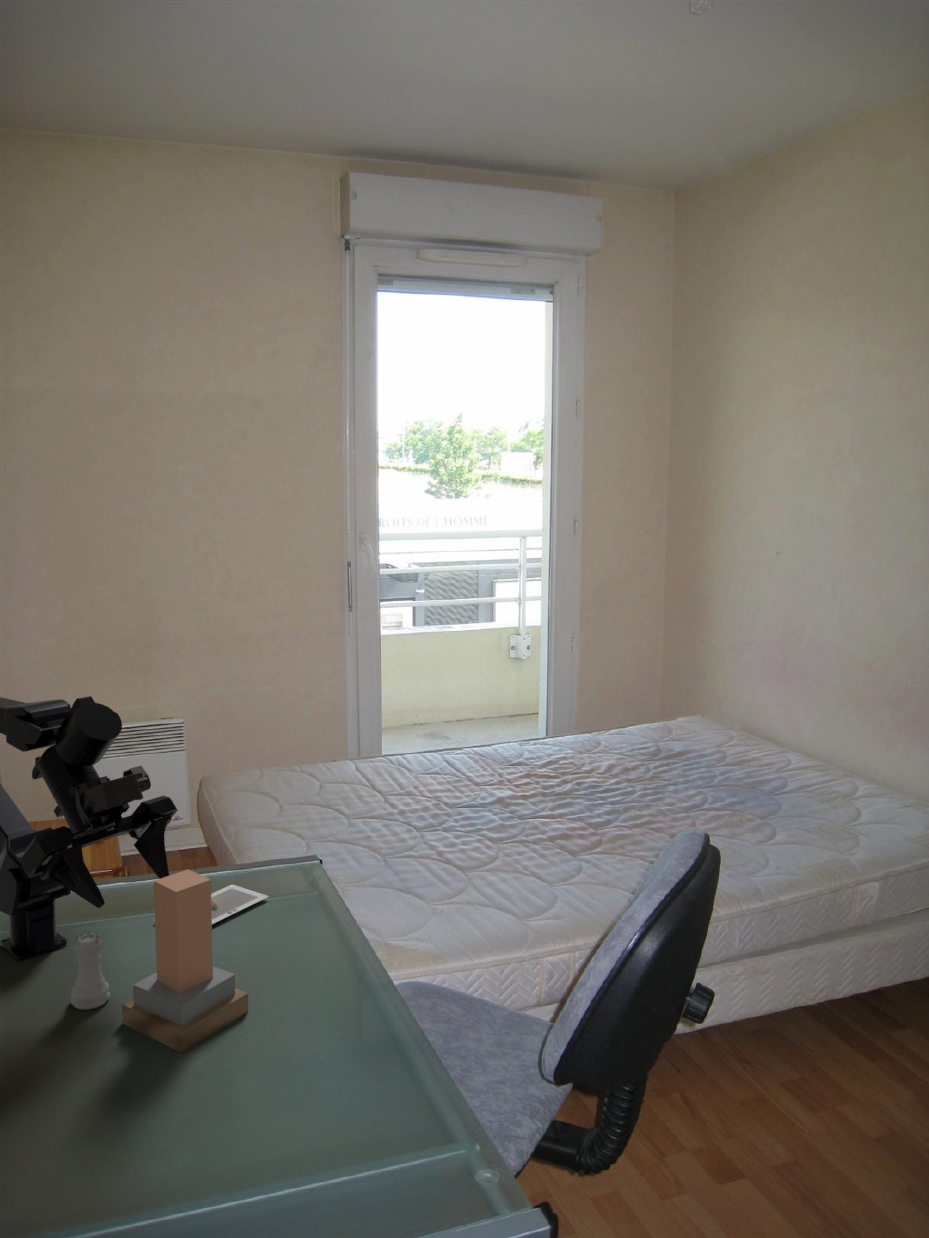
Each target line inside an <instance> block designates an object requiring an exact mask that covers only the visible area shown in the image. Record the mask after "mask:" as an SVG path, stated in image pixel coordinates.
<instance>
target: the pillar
mask: <svg viewBox="0 0 929 1238" xmlns="http://www.w3.org/2000/svg"><path fill="white" fill-rule="evenodd" d="M153 891H154V892H153V894H154V895H153V896H154V897H153V899H154V919H155V920H154V924H155V925H154V926H155V928H154V929H155V932H154V933H155V957H156V958H155V959H156V961H155V963H156V964H155V966H156V972H157V980H158V981H160V982H161V983H163V984H165V985H166V986H168V987H169V988H171V989H173V990H174V991H176V992H178V993H181V992H183V991H186V990H188V989H190V988H192V987H195V986H197V985H199V984H201V983H203V982H206V981H208V980H210V979H212V978H213V966H214V963H213V960H214V959H213V924H212V913H211V894H212V880H211V878H209V877H205V876H204V875H202V874H200V873H198V872H195V871H193V870H191V869H184V870H181V871H179V872H176V873H174V874H173V873H172V874H169V876H167V877H164V878H161V879H160V878H158V879H155V880H153Z"/></svg>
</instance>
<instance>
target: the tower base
mask: <svg viewBox="0 0 929 1238" xmlns="http://www.w3.org/2000/svg"><path fill="white" fill-rule="evenodd" d="M248 1012H249V993H248V992H246V991H243V990H241V989H239V988H237V987H235V995H233V996H232V997H230V998H228V999H227V1000H225V1001H223V1002H222V1003H220V1004H218V1005H217V1006H215V1007H214V1008H212V1009H210V1010H209V1011H207V1012H205V1013H204V1014H202V1015H200V1016H199V1017H197V1018H195V1019H194V1020H192V1021H190V1022H189V1023H187V1024H186V1025H184V1026H181V1025H179V1024H176V1023H174V1022H172V1021H169V1020H167V1019H165V1018H162V1017H160V1016H158V1015H155V1014H153V1013H151V1012H148V1011H146V1010H144V1009H142V1008H139V1007H137V1006H135V1005H134V999H133V998H131V999H129V1000H128V1001H126V1002H123V1003H122V1004H121V1013H122V1015H121V1016H122V1017H121V1018H122V1019H121V1021H122V1024H123V1025H125V1026H127V1027H129V1028H131V1029H133V1030H135V1031H137V1032H138V1033H141V1034H143V1035H145V1036H146V1037H149V1038H150V1039H153V1040H155V1041H157V1042H159V1043H161V1044H163V1045H165V1046H167V1047H168V1048H171V1049H173V1050H174V1051H177V1052H179V1053H182V1052H184V1051H186V1050H188V1049H189V1048H190V1047H192V1046H194V1045H196V1044H197V1043H199V1042H201V1041H202V1040H204V1039H205V1038H208V1037H209V1036H210V1035H212V1034H214V1033H215V1032H217V1031H218V1030H220V1029H222V1028H224V1027H225V1026H227V1025H229V1024H231V1023H232V1022H234V1021H235V1020H237V1019H238V1018H241V1017H242V1016H244V1015H245V1014H247V1013H248Z"/></svg>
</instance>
